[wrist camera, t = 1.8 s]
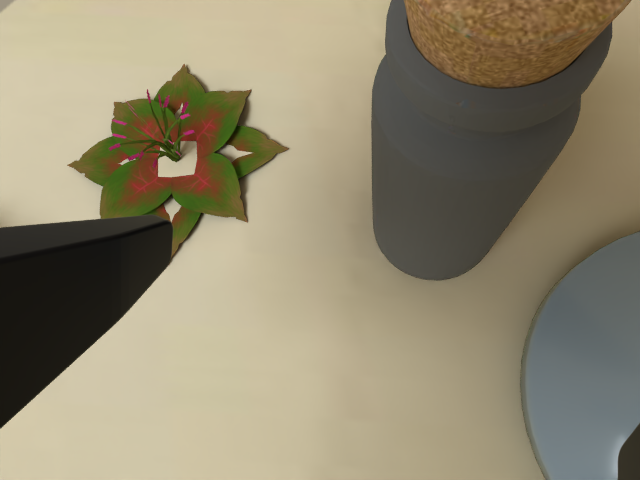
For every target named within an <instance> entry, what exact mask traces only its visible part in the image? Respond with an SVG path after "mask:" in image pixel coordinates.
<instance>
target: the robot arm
mask: <svg viewBox="0 0 640 480" xmlns="http://www.w3.org/2000/svg"><path fill="white" fill-rule="evenodd" d="M172 243H173V225H172V223H171V222H170V221H169V220H167V219H164V218H162V217H159V216H157V215H140V216H129V217H117V218H106V219H95V220H83V221H72V222H60V223H49V224H37V225H26V226H14V227H3V228H0V429H1V428H2V427H3V426H4V425H5V424H6V423H7V422H8V421H9V420H11V419H12V418H13V417H14V416H15V415H16V414H17V413H18V412H19V411H20V410H22V409H23V408H24V407H25V406H26V405H27V404H28V403H29V402H30V401H31V400H32V399H34V398H35V397H36V396H37V395H38V394H39V393H40V392H41V391H42V390H43V389H45V388H46V387H47V386H48V385H49V384H50V383H51V382H52V381H53V380H54V379H56V378H57V377H58V376H59V375H60V374H61V373H62V372H63V371H64V370H65V369H66V368H68V367H69V366H70V365H71V364H72V363H73V362H74V361H75V360H76V359H77V358H79V357H80V356H81V355H82V354H83V353H84V352H85V351H86V350H87V349H88V348H89V347H91V346H92V345H93V344H94V343H95V342H96V341H97V340H98V339H99V338H100V337H102V336H103V335H104V334H105V333H106V332H107V331H108V330H109V329H110V328H111V327H113V326H114V325H115V324H116V323H117V322H118V321H119V320H120V319H121V318H122V317H123V316H124V315H125V314H126V313H127V311H128V310H129V309H130V308H131V307H132V306H133V305H134V304H135V303H136V301H137V300H138V299H139V298H140V297H141V296H142V295H143V294H144V292H145V291H146V290H147V289H148V288H149V287H150V286H151V285H152V283H153V282H154V281H155V280H156V279H157V278H158V277H159V276H160V274H161V273H162V272H163V271H164V270H165V269H166V268H167V266H168V265H169V263H170V260H171V256H172ZM618 480H640V423H639V424H638V426H637V427H636V428H635V429H634V431H633V432H632V433H631V435H630V436H629V437H628V438H627V440H626V441H625V442H624V443H623V445H622V447H621V449H620V451H619V455H618Z"/></svg>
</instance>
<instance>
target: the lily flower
mask: <svg viewBox="0 0 640 480" xmlns="http://www.w3.org/2000/svg"><path fill="white" fill-rule="evenodd" d="M250 92H251V90H247V91H244V92H242V91H231V92H229V93H226V92H225V91H210V92H207V93H205V91H204V89H203V87H202V86H201V84H200V83H199V82H198V81H197V80H196V78H195V77H194V76H193V75H192V74H189V73H187V68H186V67H185V64H184V65H183V66H182V68H181V70H179V71H178V72H177V73H176V74H175V75H174V76H173V77H172V80H171V81H167V82H166V83H165V84H164V85H163V86H162V87H161V89H160V90H159V91H158V93H157V95H156V96H155V99H154V100H150V96H149V93H148V89H147V94H148V99H137V100H131V101H127V102H126V103H124V104H122V103H121V102H114V106H115V108H114V113H113V115H114V116H115V117H114V118H113V119H112V124H111V130H112V133H113V134H112V135H113V136H112V137H109V138H106V139H104V140H102V141H100V142H98V143H97V144H96V145H94V146H93V147H92V148H90V149H89V150H88V151H87V152H85V153H84V154H83V155H82V158H80V160H79V161H74V162H73V163H71V164H69V165H67V166H70V167H73V168H74V169H76V170H77V171H78V172H80V173H85V177H87V178H88V179H90V180H91V181H93V182H95V183H97V184H100V185H101V186H104V187H103V189H102V194H101V202H100V216H101V219H106V218H117V217H129V216H140V215H157V216H159V217H162V218H164V219H167V220H169V221H170V216H169V214H168V213H167V212H166V210H165V207H164V205H163V202H164V201H165V200H166V199H167V198H168V197H169V196H170V195H171V193H172V196H173V198H174V199H175V201H176V202H177V203H179V204H180V205H181V206H182V207H181V208H180V210H179V211H178V212H177V213H176V214H175V215H174V218H173V220H172V225H173V243H172V256H173V254H174V253H175V252H176V250H177V249H178V246H179V244H180V243H182V242H183V241H184V240H185V238H186V237H187V236H188V234H189V233H190V231H191V230H192V228H193V227H194V225H195V223H196V222H197V220H198V218H199V216H200V214H201V213H205V214H210V215H215V216H221V217H236V219H239V220H242V221H245V222H247V219H246V216H245V215H244V208H243V202H242V200H241V199H240V195H241V190H240V186H239V181H238V178H240V177H243V176H245V175H246V174H248V173H250V172H252V171H253V170H255V169H257V168H258V167H260V166H261V165H263V164H265V163H266V162H268V161H269V160H271V159H272V158H273V157H274V156H275V154H276V153H281V152H283V151H285V150H288V148H286V147H283V146H280V145H279V144H278V143H276V142H275V141H273V140H271V139H269V140H268V139H267V138H266V136H265V135H264V134H262V133H261V132H259V131H257V130H255V129H252V128H249V127H246V126H239V125H237V123H238V120H239V117H240V114H241V112H242V110H243V107H244V105H245V102H246V101H245V98H246V97H247V96H248V95H249V93H250ZM182 103H183V108H182V112H181V115H180V117H179V119H178V120H176V118H175V116H174V115H175V113H176V111H177V110H178V109H180V106H181V104H182ZM180 141H197V163H196V168H195V173H194V175H186V176H179V177H172V178H171V177H158V159H159V158H160V157H163V156H165V155H166V156H167V157H169V158H170V159H171V160H172V161H175V162H177V159H180V156H181V155H182V154H181V153H180ZM173 142H175V143H174V144H173ZM225 143H226V144H229V145H232V146H234V147H235V148H236V149H237V150H239V151H246V152H252V154H249V155H245V156H242V157H239V158H237V159H236V160H235V161H233V162H232V163H231V162H230V161H229V160H228V159H227V158H226V157H224V156H223V155H221V154H218V153H214V152H215V151H217V150H218V149H219V148H221V147H222V146H223V145H224V144H225ZM165 144H166V145H165ZM177 144H178V148H177ZM160 147H161V148H162V149H163V150H165V151H166V152H164V151H160ZM159 153H160V155H159ZM158 155H159V156H158ZM181 157H182V156H181ZM127 158H128V159H129V161H130V160H133V159H134V158H135V159H136V160H133V161H130V162H127V163H125V164H123V165H121V164H118V163H121V162H122V161H124V160H125V159H127ZM170 222H171V221H170ZM172 256H171V257H172Z"/></svg>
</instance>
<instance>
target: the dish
mask: <svg viewBox="0 0 640 480" xmlns="http://www.w3.org/2000/svg"><path fill="white" fill-rule="evenodd" d="M520 388H521V401H522V410H523V415H524V420H525V425H526V430H527V434H528V437H529V440H530V443H531V446H532V449H533V452H534V455H535V458H536V460H537V462H538V465H539V467H540V469H541V471H542V473H543V475H544V477H545V480H618V455H619V451H620V449H621V447H622V445H623V443H624V442H625V441H626V440H627V438H628V437H629V436H630V435H631V433H632V432H633V431H634V429H635V428H636V427H637V426H638V424H639V423H640V231H639V232H637V233H634V234H631V235H628V236H626V237H623V238H620V239H618V240H616V241H614V242H612V243H610V244H608V245H606V246H605V247H603V248H601V249H599V250H598V251H596V252H595V253H593V254H592V255H590V256H589V257H588V258H586V259H585V260H583V261H582V262H581V263H579V264H578V265H577V266H575V267H574V268H572V269H571V270H570V271H568V272H567V273H566V274H565V275H564V276H563V277H562V278H561V279H560V280H559V281H558V282H557V283H556V284H555V285H554V287H553V288H552V289H551V291H550V292H549V293H548V295H547V296H546V297H545V299H544V300H543V301H542V303H541V305H540V307H539V309H538V311H537V313H536V315H535V316H534V318H533V320H532V323H531V326H530V329H529V332H528V335H527V337H526V341H525V346H524V351H523V356H522V361H521V378H520Z"/></svg>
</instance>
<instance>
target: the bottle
mask: <svg viewBox="0 0 640 480" xmlns="http://www.w3.org/2000/svg"><path fill="white" fill-rule="evenodd" d="M630 1H631V0H392V1H391V3H390V6H389V10H388V14H387V20H386V37H385V48H386V55H385V56H384V58H383V59H382V61H381V63H380V65H379V67H378V70H377V73H376V76H375V80H374V85H373V89H372V120H371V128H372V205H373V227H374V233H375V237H376V241H377V243H378V246H379V248H380V249H381V251H382V253H383V254H384V255H385V256H386V258H387V259H388V260H389V261H390V262H391V263H392V264H393V265H394V266H395V267H397V268H398V269H400V270H401V271H403V272H405V273H407V274H409V275H411V276H414V277H417V278H421V279H426V280H444V279H450V278H453V277H457V276H459V275H461V274H463V273H465V272H467V271H469V270H470V269H472V268H473V267H474V266H475V265H477V264H478V263H479V262H480V261H481V260H482V259H483V257H484V256H485V255H486V254H487V253H488V251H489V250H490V249H491V247H492V246H493V245H494V243H495V242H496V240H497V239H498V238H499V236H500V235H501V234H502V232H503V231H504V230H505V228H506V227H507V226H508V224H509V223H510V222H511V220H512V219H513V218H514V216H515V215H516V213H517V212H518V211H519V209H520V208H521V207H522V205H523V204H524V203H525V201H526V200H527V199H528V197H529V196H530V194H531V193H532V191H533V190H534V189H535V187H536V186H537V184H538V183H539V182H540V180H541V179H542V177H543V176H544V175H545V173H546V172H547V170H548V169H549V167H550V166H551V165H552V163H553V162H554V160H555V159H556V158H557V156H558V155H559V153H560V152H561V150H562V149H563V147H564V146H565V144H566V142H567V141H568V139H569V137H570V136H571V134H572V132H573V130H574V128H575V125H576V123H577V120H578V116H579V112H580V103H581V94H582V93H583V92H584V91H585V90H586V89H587V87H588V86H589V84H590V83H591V81H592V80H593V78H594V77H595V75H596V74H597V72H598V70H599V69H600V67H601V65H602V64H603V62H604V60H605V58H606V56H607V54H608V50H609V46H610V42H611V38H612V21H613V20H614V19H615V18H616V17H617V16H618V15H619V14H620V13H621V12H622V11H623V10H624V9H625V7H626V6H627V5H628V4H629V3H630Z"/></svg>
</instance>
